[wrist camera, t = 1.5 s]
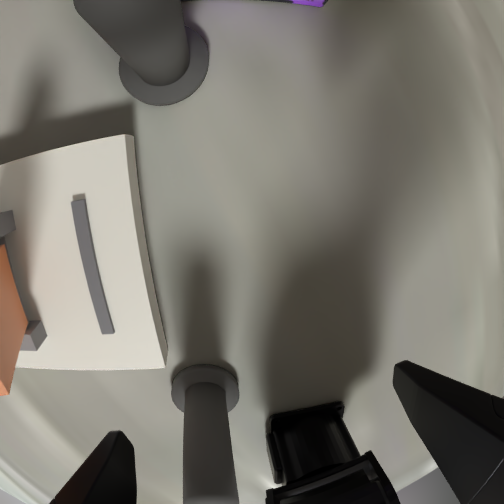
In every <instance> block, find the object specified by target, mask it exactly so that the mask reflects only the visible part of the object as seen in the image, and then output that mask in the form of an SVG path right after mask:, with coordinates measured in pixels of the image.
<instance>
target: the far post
mask: <svg viewBox="0 0 504 504" xmlns="http://www.w3.org/2000/svg"><path fill="white" fill-rule="evenodd" d="M171 396H172V400H173V402H174V404H175V405H176V406H177V408H179V409H180V410H181V411H182V412H184V436H183V504H239V497H238V490H237V483H236V476H235V469H234V461H233V453H232V445H231V437H230V429H229V421H228V412H229V411H231V410H232V409H233V408H234V407H235V406H236V404H237V403H238V400H239V389H238V384H237V381H236V379H235V377H234V376H233V375H232V374H231V373H230V372H228V371H227V370H225V369H223V368H221V367H218V366H214V365H206V364H203V365H194V366H191V367H188V368H186V369H184V370H182V371H181V372H179V373H178V374H177V375H176V377H175V378H174V380H173V383H172V391H171Z"/></svg>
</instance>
